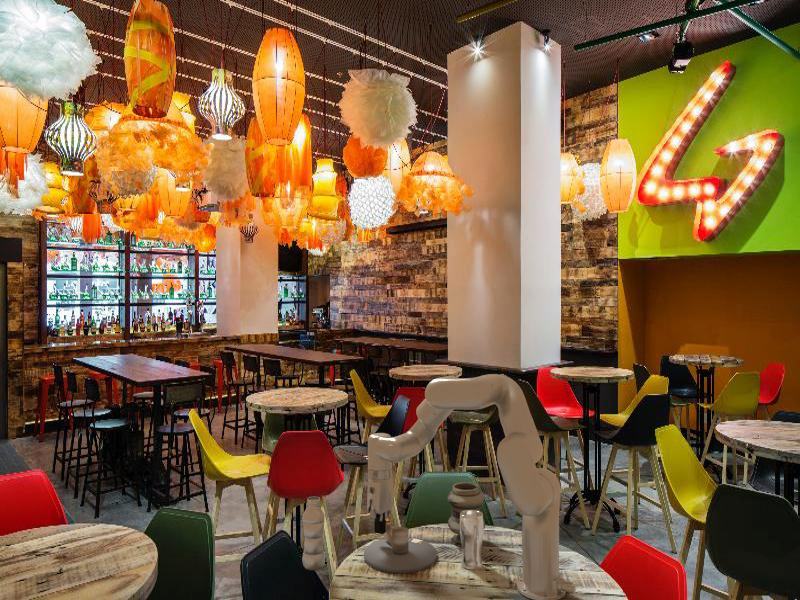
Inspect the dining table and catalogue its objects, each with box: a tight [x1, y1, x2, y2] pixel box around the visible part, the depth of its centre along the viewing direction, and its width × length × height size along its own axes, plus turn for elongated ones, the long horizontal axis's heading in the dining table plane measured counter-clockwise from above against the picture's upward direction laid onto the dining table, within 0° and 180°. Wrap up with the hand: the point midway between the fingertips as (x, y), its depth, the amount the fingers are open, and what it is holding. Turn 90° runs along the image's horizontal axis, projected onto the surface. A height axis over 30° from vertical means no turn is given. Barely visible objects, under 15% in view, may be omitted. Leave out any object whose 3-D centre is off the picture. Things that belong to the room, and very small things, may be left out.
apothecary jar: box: [447, 481, 486, 548], centre depth 182 cm, size 12×12×18 cm
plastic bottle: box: [301, 496, 326, 571], centre depth 163 cm, size 6×7×20 cm
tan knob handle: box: [383, 518, 409, 554], centre depth 174 cm, size 12×5×6 cm, turn 27°
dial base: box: [363, 537, 438, 574], centre depth 170 cm, size 22×22×2 cm
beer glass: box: [460, 510, 485, 571], centre depth 164 cm, size 7×7×15 cm
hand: (380, 532), depth 176 cm, fingers closed
